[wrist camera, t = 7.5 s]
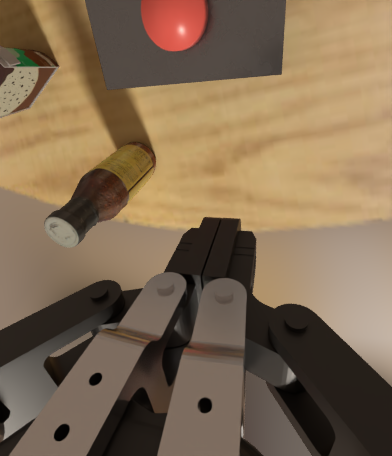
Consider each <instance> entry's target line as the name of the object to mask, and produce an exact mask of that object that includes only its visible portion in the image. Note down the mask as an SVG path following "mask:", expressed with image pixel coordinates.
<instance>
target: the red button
mask: <svg viewBox="0 0 392 456" xmlns="http://www.w3.org/2000/svg"><path fill="white" fill-rule="evenodd" d="M141 15H142V21H143V24H144V27H145V30H146V32H147V34H148V36H149V37H150V38H151V40H152V41H153V42H154V43H155V44H156V45H157V46H159V47H160V48H162V49H164V50H167V51H183V50H187V49H189V48H191V47H193V46H194V45H195V44H196V43H197V42H198V41H199V40H200V39H201V37H202V35H203V34H204V31H205V29H206V26H207V21H208V3H207V0H141Z"/></svg>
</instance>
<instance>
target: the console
mask: <svg viewBox="0 0 392 456" xmlns="http://www.w3.org/2000/svg"><path fill="white" fill-rule="evenodd" d="M85 3H86V7H87V11H88V15H89V19H90V23H91V27H92V31H93V35H94V39H95V43H96V47H97V51H98V55H99V59H100V63H101V67H102V71H103V75H104V79H105V83H106V87H107V90H112V89H123V88H135V87H146V86H157V85H168V84H180V83H191V82H202V81H213V80H224V79H236V78H247V77H258V76H269V75H281V74H282V58H283V41H284V25H285V8H286V0H207V3H208V21H207V26H206V29H205V31H204V34H203V35H202V37H201V39H200V40H199V41H198V42H197V43H196V44H195V45H194V46H193V47H191V48H189V49H187V50H183V51H167V50H164V49H162V48H160V47H159V46H157V45H156V44H155V43H154V42H153V41H152V40H151V38H150V37H149V36H148V34H147V32H146V30H145V27H144V24H143V21H142V15H141V0H85Z"/></svg>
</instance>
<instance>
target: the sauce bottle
mask: <svg viewBox="0 0 392 456" xmlns="http://www.w3.org/2000/svg"><path fill="white" fill-rule="evenodd" d="M155 166H156V160H155V157H154V155H153V153H152V152H151V150H150V149H149V148H148V147H147V146H145V145H144V144H141V143H136V142H133V143H129V144H128V145H125V146H123V147H121V148H120V149H118V150H117V151H116V152H114V153H113V154H112V155H110V156H109V157H108V158H106V159H105V160H104V161H102V162H101V163H100V164H98V165H97V166H96V167H94V168H93V169H92V170H90V171H89V172H88V173H86V174H85V175H84V176H83V177H82V178H81V180H80V181H79V184H78V186H77V188H76V190H75V192H74V194H73V196H72V198H71V200H70V201H69V202H68V203H67V204H66V205H65V206H63V207H62V208H61V209H60V210H57V211H54V212H53V213H51V215H49V216H48V218H46V220H45V223H44V227H45V231H46V233H47V234H48V235H49V237H50V238H51V239H52V240H54V241H55V242H56V243H58V244H60V245H61V246H64V247H74V246H76V245H78V244H79V243H80V242H81V241H82V240H83V239H84V237H85V234H86V233H87V232H88V231H89V229H91V228H92V227H93V226H95V225H96V223H97V222H102V221H106V220H110V219H112V218H114V217H115V216H116V215H117V214H118V213H119V212H120V210H121V209H122V208H124V207H125V206H126V205H127V204H128V203H129V202H130V200H131V199H132V198H133V197H134V196H135V195H136V194H137V192H138V191H139V190H140V189H141V188H142V187H143V186H144V184H145V183H146V182H147V181H148V180H149V179H150V178H151V176H152V175H153V173H154V170H155Z"/></svg>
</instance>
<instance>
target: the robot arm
mask: <svg viewBox="0 0 392 456" xmlns="http://www.w3.org/2000/svg"><path fill="white" fill-rule="evenodd" d="M255 267H256V238H255V236H254V234H253V233H252V231H241V220H240V219H234V218H212V217H204V218H203V221H202V223H201V225H200V227H199V228H191V229H190V230H188V231H187V232H186V233H185V234H183V236H182V238H181V240H180V243H179V244H178V246H177V248H176V251H175V252H174V254H173V256H172V258H171V260H170V261H169V263H168V265H167V267H166V269H165V271H164V273H161V274H158V275H156V276H154V277H152V278H151V279H150V280H149V281H148V282H147V283H146V285H145V286H144V288H141V289H135V290H128V291H122V290H121V287H120V285H119V284H118V283H117V282H115V281H111V280H103V281H99V282H96V283H94V284H92V285H90V286H88V287H86V288H84V289H82V290H80V291H78V292H76V293H74V294H72V295H70V296H68V297H66V298H64V299H62V300H60V301H58V302H56V303H54V304H52V305H50V306H48V307H46V308H44V309H42V310H40V311H38V312H36V313H34V314H32V315H30V316H28V317H26V318H24V319H22V320H20V321H18V322H16V323H14V324H12V325H10V326H8V327H6V328H4V329H2V330H0V456H263V455H262V454H261V453H260V452H259V451H258V450H257V449H256V448H255V447H254V446H253V445H251V444H250V443H249V442H248V441H246V440H245V439H244V421H245V419H244V418H245V384H246V370H247V371H249V372H251V373H252V374H254V375H256V376H258V377H260V378H261V379H263V380H265V381H266V384H267V386H268V388H269V390H270V392H271V393H272V394H273V396H274V398H275V399H276V401H277V402H278V404H279V405H280V407H281V409H282V410H283V412H284V413H285V415H286V416H287V418H288V419H289V421H290V422H291V424H292V426H293V427H294V429H295V430H296V432H297V433H298V435H299V436H300V438H301V439H302V441H303V443H304V444H305V446H306V447H307V449H308V450H309V452H310V453H311V455H312V456H392V387H391V386H390V385H389V384H388V383H387V382H386V381H385V380H384V379H383V378H382V377H381V376H380V375H379V374H378V373H377V372H376V371H375V370H374V369H373V368H372V367H371V366H369V365H368V364H367V363H366V362H365V361H364V360H363V359H362V358H361V357H360V356H359V355H358V354H357V353H356V352H355V351H354V350H353V349H352V348H351V347H350V346H349V345H348V344H347V343H346V342H345V341H343V339H341V338H340V337H339V336H338V335H337V334H336V333H335V332H334V331H333V330H332V329H331V328H330V327H329V326H328V325H327V324H326V323H325V322H324V321H323V320H322V319H321V318H320V317H319V316H317V314H315V313H314V312H313V311H312V310H310V309H308V308H306V307H304V306H301V305H297V304H284V305H281V306H278V307H277V308H275V309H274V308H272V307H269V306H267V305H265V304H263V303H261V302H259V301H258V300H257V299H256V298H255V297H254V296H253V294H252V292H253V285H254V277H255ZM89 331H91V333H92V335H93V336H92V337H91V338H89V339H87V340H86V341H84V342H82V343H81V344H79V345H77V346H76V347H74V348H72V349H71V350H69V351H67V352H66V353H64V354H62V355H60V356H58V357H50V356H49V355H51V354H52V353H54V352H55V351H57V350H59V349H61V348H62V347H64V346H66V345H67V344H69V343H71V342H72V341H74V340H76V339H78V338H79V337H81V336H83V335H85V334H86V333H88V332H89Z"/></svg>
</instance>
